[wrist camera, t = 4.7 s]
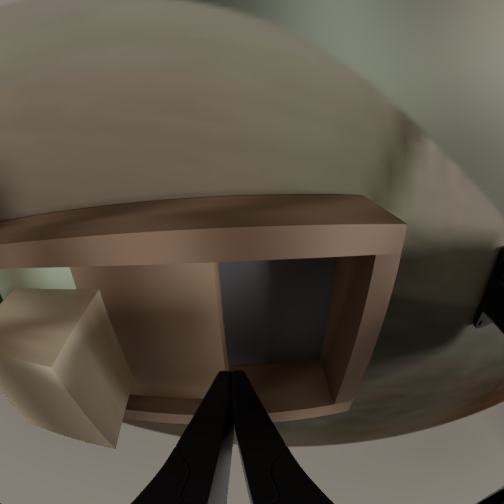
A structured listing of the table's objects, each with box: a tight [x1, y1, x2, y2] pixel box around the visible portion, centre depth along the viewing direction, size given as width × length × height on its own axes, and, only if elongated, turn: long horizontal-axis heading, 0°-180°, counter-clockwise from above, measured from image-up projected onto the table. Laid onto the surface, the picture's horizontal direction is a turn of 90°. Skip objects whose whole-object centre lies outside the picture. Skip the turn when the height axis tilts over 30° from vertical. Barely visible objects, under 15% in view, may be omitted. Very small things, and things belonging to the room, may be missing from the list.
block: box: [0, 288, 134, 449], centre depth 8 cm, size 5×5×4 cm
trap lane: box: [0, 194, 407, 424], centre depth 11 cm, size 23×10×4 cm, turn 91°
